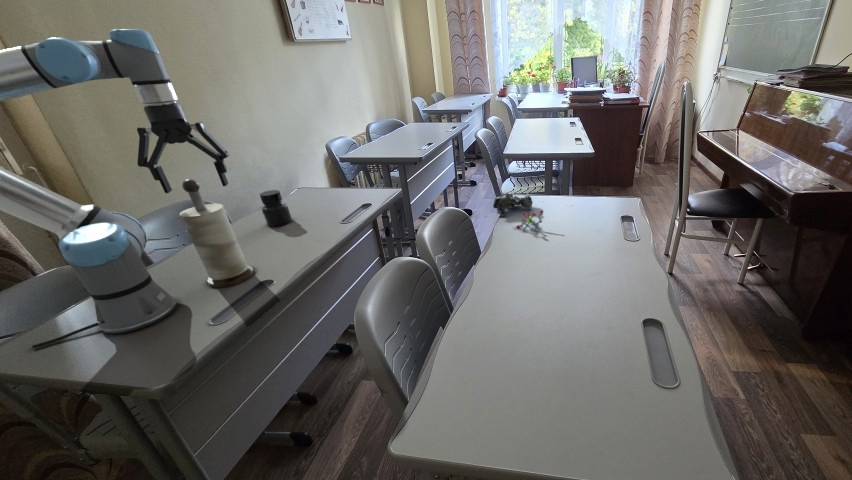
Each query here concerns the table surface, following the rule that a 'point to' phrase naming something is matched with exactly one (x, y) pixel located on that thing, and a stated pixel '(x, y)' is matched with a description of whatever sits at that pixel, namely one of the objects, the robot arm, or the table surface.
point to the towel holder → (214, 240)
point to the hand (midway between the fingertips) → (197, 188)
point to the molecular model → (530, 221)
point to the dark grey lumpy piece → (511, 202)
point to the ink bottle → (275, 208)
